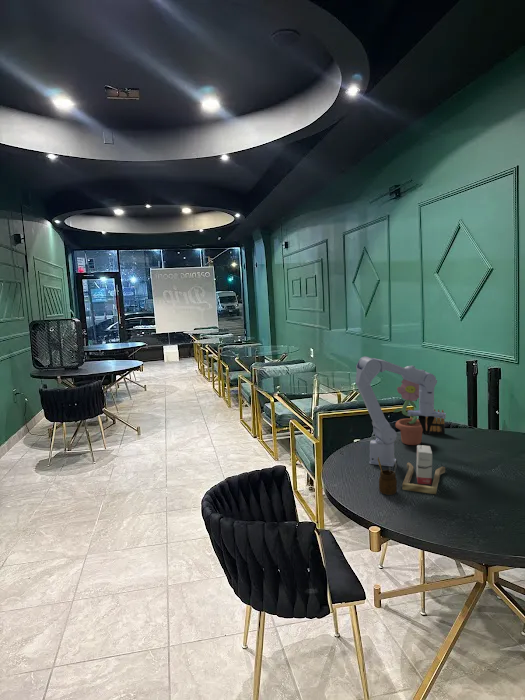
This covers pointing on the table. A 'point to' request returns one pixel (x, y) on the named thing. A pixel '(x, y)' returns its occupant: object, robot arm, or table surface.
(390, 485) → the utensil holder
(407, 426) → the decorative flower
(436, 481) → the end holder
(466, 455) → the table surface
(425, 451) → the ink box
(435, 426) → the ammunition clip
